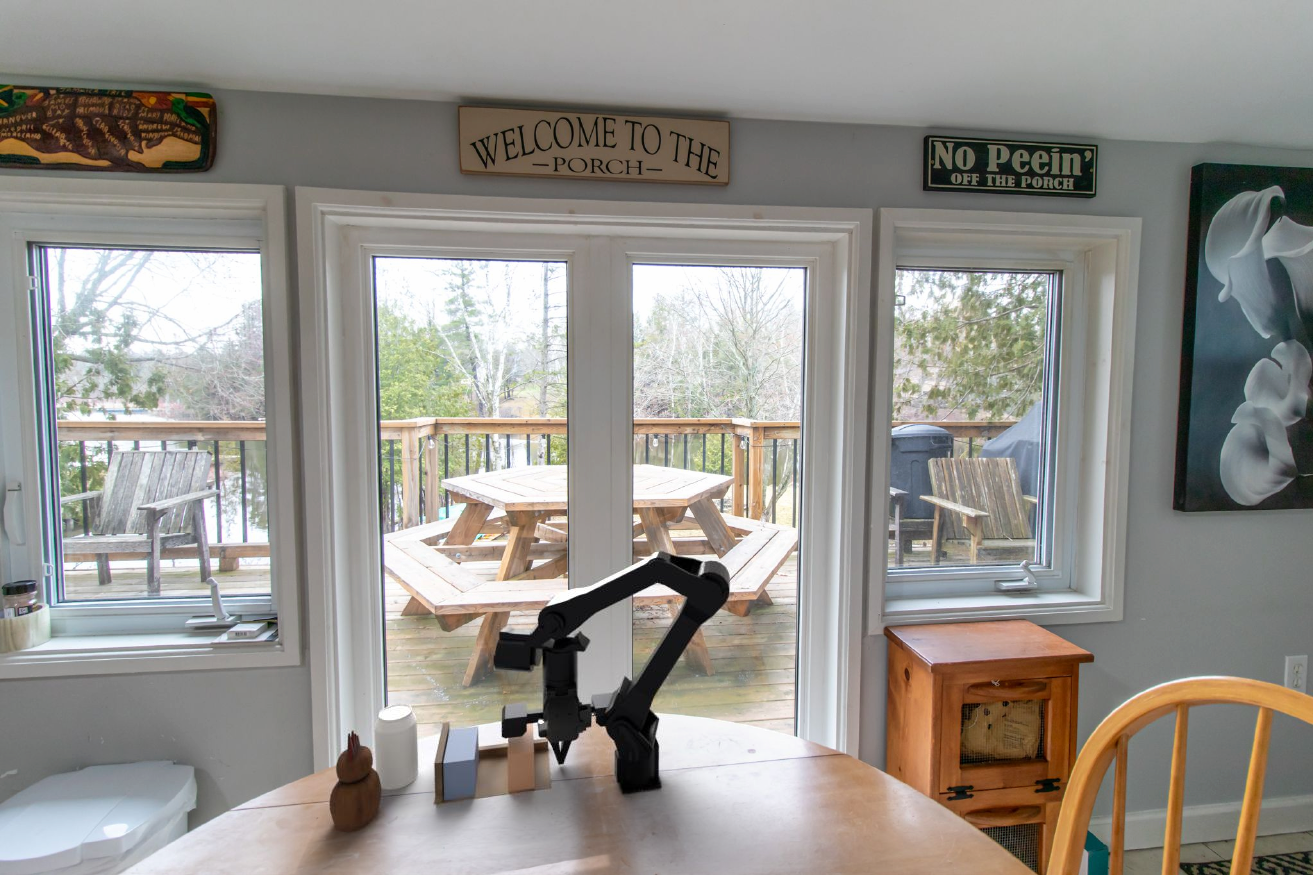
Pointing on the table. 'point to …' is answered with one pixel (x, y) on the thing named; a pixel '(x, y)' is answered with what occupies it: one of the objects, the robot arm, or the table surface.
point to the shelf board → (492, 769)
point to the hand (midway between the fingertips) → (560, 763)
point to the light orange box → (521, 761)
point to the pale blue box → (461, 763)
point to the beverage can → (396, 746)
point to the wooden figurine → (355, 788)
